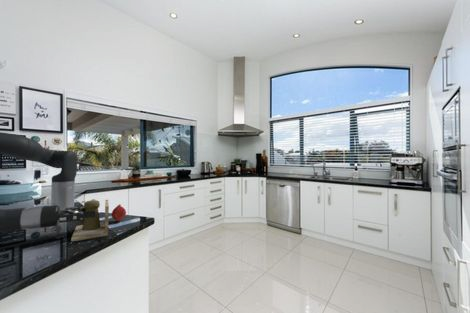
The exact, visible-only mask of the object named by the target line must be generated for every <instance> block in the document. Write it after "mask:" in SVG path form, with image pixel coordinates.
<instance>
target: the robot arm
mask: <svg viewBox="0 0 470 313" xmlns="http://www.w3.org/2000/svg"><path fill="white" fill-rule="evenodd" d="M0 155H4V156H8V157H11V158H16V159H20V160H25V161H29V162H35V163H36V162H37V163H40V164H42V165H46V166H48V167H51V168H54V169H61V170H60V172H59V173H58V174H56V175H53V176H52V177H51V186H50V187H51V188H50V189H51V192H50V205H43V206H34V207H33V206H32V207H26V208H18V209H17V208H16V209H15V208H14V209H8V210H2V211H0V233H1V232H11V231H19V230H20V231H21V230H33V229H34V230H35V229H42V228H49V227H50V228H51V227H57V226H58V225H59V223H60V224H61V223H69V222H70V223H71V222H78V221H81V220H84V218H90V217H95V213H96V212H95V211H88V212H85V211H86V209H85V208H84V205H81V206H75V187H76V186H75V184H76V182H75V180H76V176H77V173H78V172H77V171H78V164H79V163H78V155H77V154H76V152H75V151H73V150H53V149H48V148H45V147H43V146H42V144H41V143H39V142H38V141H36V140H34V139H33V138H30V137H26V136H23V135H20V134H15V133H8V132H0Z"/></svg>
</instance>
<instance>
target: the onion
mask: <svg viewBox="0 0 470 313" xmlns="http://www.w3.org/2000/svg"><path fill="white" fill-rule="evenodd" d="M126 214H127V212H126V209H125V208H124V207H123V206H122V205H121V204H118V205H117V206H115V208H114V209H113V210H112V211H111V218H112V219H113V220H115V221H116V222H121V221H122V220H123V219H124V218H125V217H126Z"/></svg>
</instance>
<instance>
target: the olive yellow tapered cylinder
mask: <svg viewBox="0 0 470 313" xmlns="http://www.w3.org/2000/svg"><path fill="white" fill-rule="evenodd" d="M83 206H84V208H85V209H86V211H85V212H88V211H95V212H96V213H95V217H90V218H83V223H82V225H83V227H82V230H84V231H89V230H95V229H98V228H100V223H101V222H100V214H99V213H100V212H99V208H100V206H101V204H100V201H99V200H95V199H93V200H87V201H85V202H84V204H83Z"/></svg>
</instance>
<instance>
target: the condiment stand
mask: <svg viewBox="0 0 470 313" xmlns="http://www.w3.org/2000/svg"><path fill="white" fill-rule="evenodd" d="M104 203H105V206H104V222H100V228H98V229H95V230H89V231H84V230H82V227H83V224H82V225H76V227H75V229H74V231H73V234H72V235H71V240H70V241H71V242H76V241H84V240H89V239H96V238H100V237H101V238H102V237H107V236H109V208H110V207H109V206H110V205H109V199H105V202H104Z"/></svg>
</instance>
